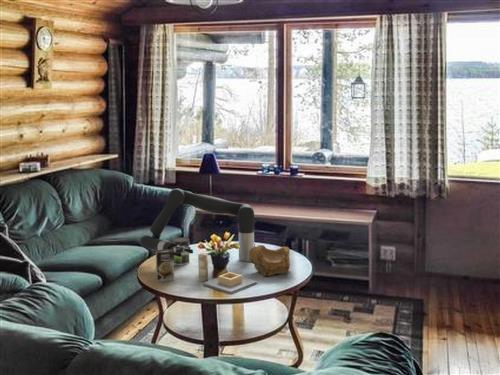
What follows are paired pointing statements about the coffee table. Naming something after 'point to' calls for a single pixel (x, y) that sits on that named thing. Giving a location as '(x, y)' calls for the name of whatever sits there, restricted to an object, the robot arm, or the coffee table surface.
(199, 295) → the coffee table surface
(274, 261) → the rough brown rock
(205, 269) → the wooden peg
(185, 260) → the coffee can
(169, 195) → the robot arm
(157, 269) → the coffee box
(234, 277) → the collar board
